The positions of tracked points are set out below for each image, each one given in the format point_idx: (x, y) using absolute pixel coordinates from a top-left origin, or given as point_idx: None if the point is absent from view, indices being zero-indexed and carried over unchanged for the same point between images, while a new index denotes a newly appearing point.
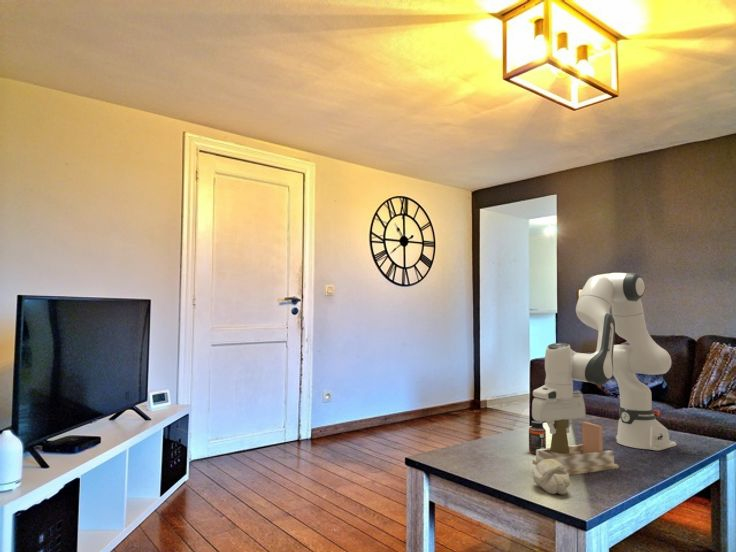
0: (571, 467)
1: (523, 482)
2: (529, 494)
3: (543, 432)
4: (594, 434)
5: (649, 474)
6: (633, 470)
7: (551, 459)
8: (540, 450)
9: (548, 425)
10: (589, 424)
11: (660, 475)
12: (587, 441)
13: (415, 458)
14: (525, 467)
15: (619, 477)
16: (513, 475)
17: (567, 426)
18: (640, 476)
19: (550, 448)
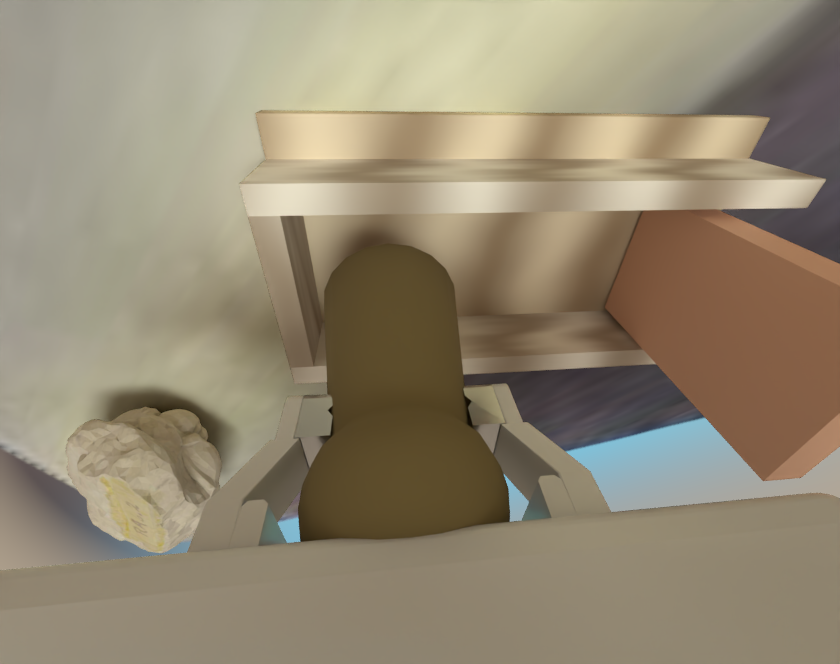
0: None
1: (68, 362)
2: (64, 445)
3: None
4: (728, 388)
5: (650, 402)
6: (656, 365)
7: (146, 509)
8: (268, 219)
9: (242, 474)
10: (834, 411)
11: (667, 414)
12: (710, 286)
13: None
14: (160, 178)
15: (525, 401)
16: (26, 277)
17: (501, 463)
18: (600, 408)
19: (331, 282)
